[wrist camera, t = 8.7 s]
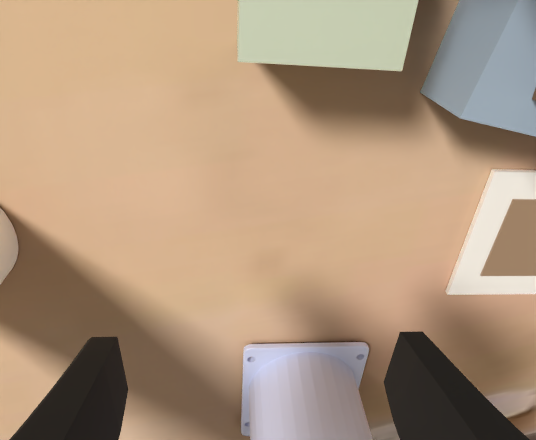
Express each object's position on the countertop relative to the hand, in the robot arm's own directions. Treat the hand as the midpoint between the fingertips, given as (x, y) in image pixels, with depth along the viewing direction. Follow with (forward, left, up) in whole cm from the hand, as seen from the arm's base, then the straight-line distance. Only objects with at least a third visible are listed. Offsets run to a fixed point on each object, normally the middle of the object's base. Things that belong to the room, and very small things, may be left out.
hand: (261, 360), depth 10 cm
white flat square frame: (-3, -16, -10) cm, 19 cm away
